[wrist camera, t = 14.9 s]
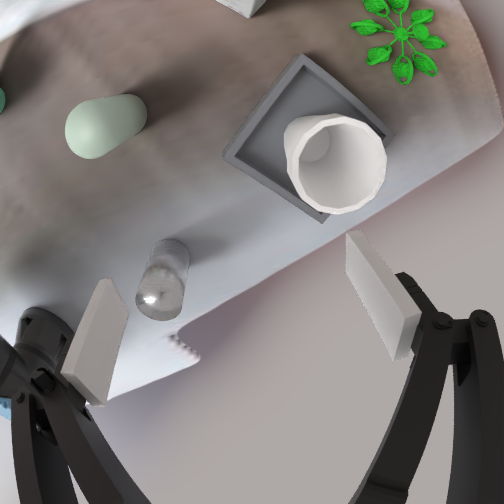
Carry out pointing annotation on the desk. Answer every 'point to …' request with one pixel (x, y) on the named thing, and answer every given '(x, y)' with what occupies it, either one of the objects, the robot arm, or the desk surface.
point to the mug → (2, 100)
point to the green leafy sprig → (401, 38)
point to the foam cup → (334, 161)
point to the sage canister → (104, 124)
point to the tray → (282, 114)
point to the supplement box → (243, 6)
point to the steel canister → (164, 281)
